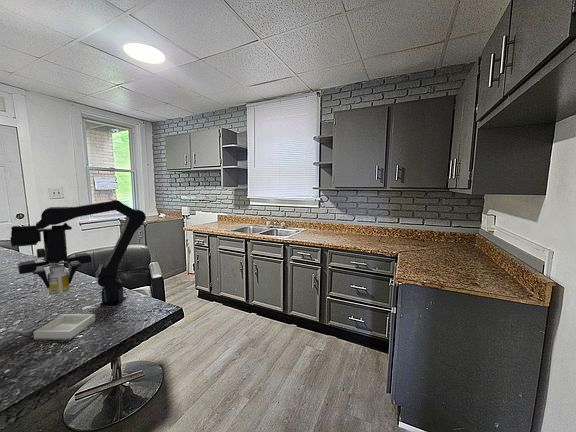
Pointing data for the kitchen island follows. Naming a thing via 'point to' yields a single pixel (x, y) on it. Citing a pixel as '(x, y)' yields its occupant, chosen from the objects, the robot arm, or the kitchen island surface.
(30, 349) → the kitchen island surface
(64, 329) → the tray
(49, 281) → the supplement bottle
